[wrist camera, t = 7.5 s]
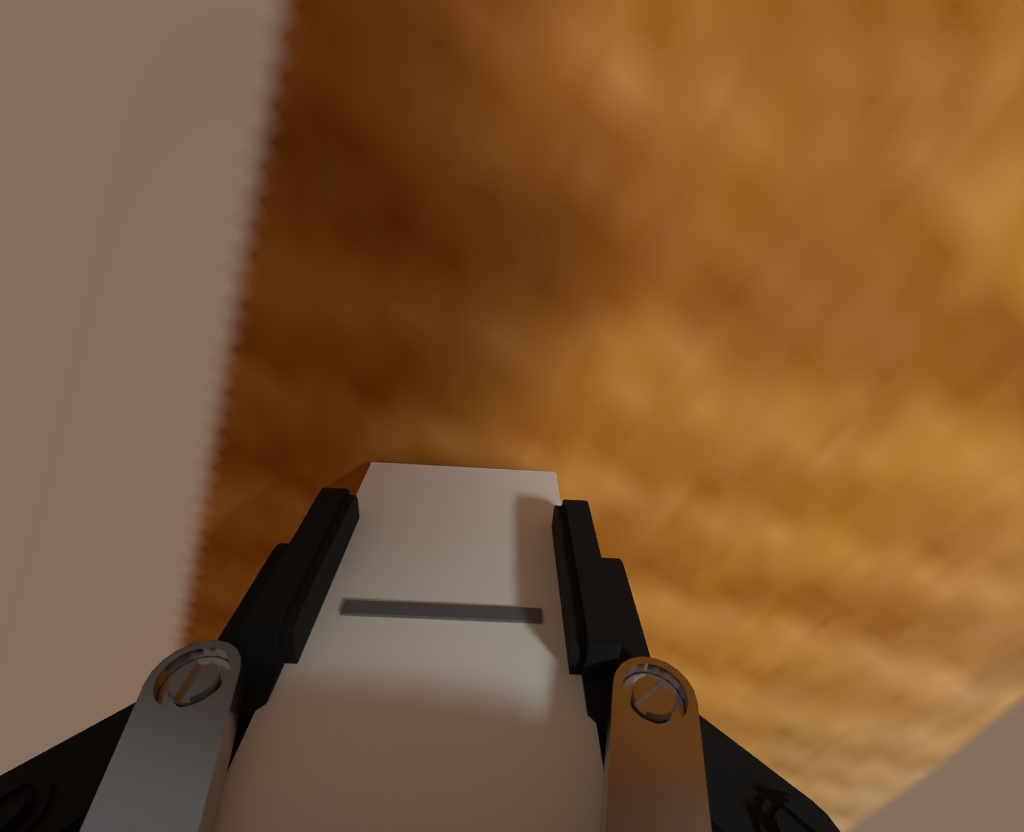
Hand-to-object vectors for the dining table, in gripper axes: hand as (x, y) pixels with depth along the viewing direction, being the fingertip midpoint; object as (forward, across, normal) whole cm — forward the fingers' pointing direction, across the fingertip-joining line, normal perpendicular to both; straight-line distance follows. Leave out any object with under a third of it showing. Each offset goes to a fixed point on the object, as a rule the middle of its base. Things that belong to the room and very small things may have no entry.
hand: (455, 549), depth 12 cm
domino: (+2, 0, 0) cm, 2 cm away
